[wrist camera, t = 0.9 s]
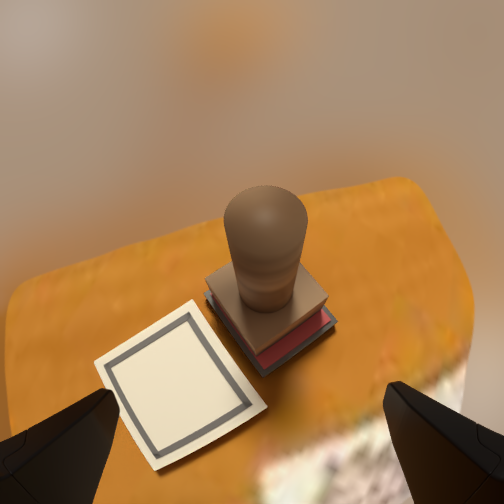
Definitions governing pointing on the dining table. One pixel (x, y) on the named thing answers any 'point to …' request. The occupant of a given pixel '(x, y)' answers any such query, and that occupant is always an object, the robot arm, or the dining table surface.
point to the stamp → (266, 267)
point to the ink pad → (285, 346)
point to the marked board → (177, 386)
